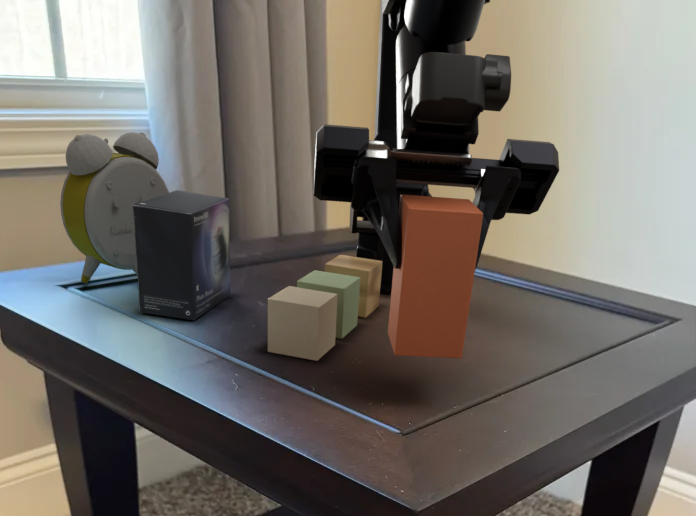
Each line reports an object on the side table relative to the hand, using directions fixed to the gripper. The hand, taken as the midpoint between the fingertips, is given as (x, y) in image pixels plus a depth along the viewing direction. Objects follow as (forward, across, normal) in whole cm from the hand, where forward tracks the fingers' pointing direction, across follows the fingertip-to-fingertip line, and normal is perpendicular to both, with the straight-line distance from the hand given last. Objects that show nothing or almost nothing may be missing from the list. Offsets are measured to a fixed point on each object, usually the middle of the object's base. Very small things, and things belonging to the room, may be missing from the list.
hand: (435, 268), depth 59 cm
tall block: (+4, 0, +6) cm, 7 cm away
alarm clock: (-15, -29, +31) cm, 45 cm away
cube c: (0, -10, +16) cm, 19 cm away
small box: (-9, -22, +25) cm, 34 cm away
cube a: (-10, -4, +26) cm, 28 cm away
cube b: (-5, -7, +21) cm, 23 cm away
